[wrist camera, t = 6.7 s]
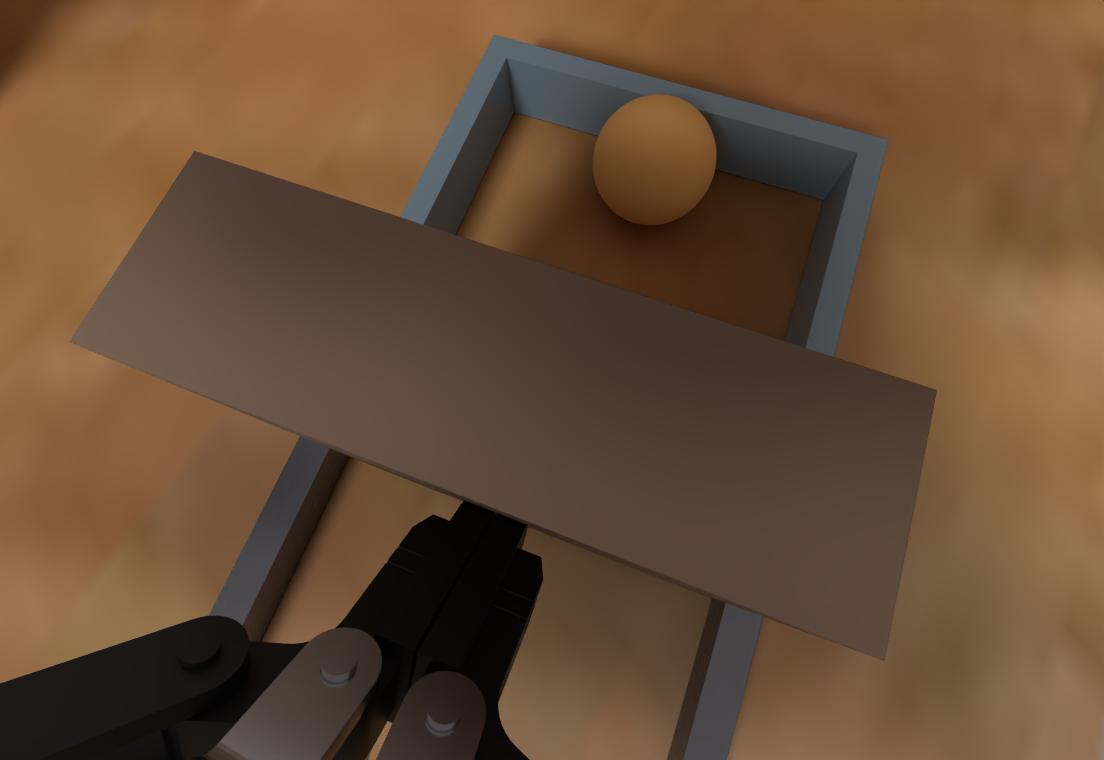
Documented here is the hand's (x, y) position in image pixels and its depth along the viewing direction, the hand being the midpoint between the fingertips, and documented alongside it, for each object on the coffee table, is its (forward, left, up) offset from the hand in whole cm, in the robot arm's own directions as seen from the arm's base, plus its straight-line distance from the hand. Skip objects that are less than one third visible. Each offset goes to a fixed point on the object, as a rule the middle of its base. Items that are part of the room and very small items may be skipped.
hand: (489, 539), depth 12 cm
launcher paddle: (-1, +2, -5) cm, 5 cm away
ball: (-9, +9, -3) cm, 13 cm away
